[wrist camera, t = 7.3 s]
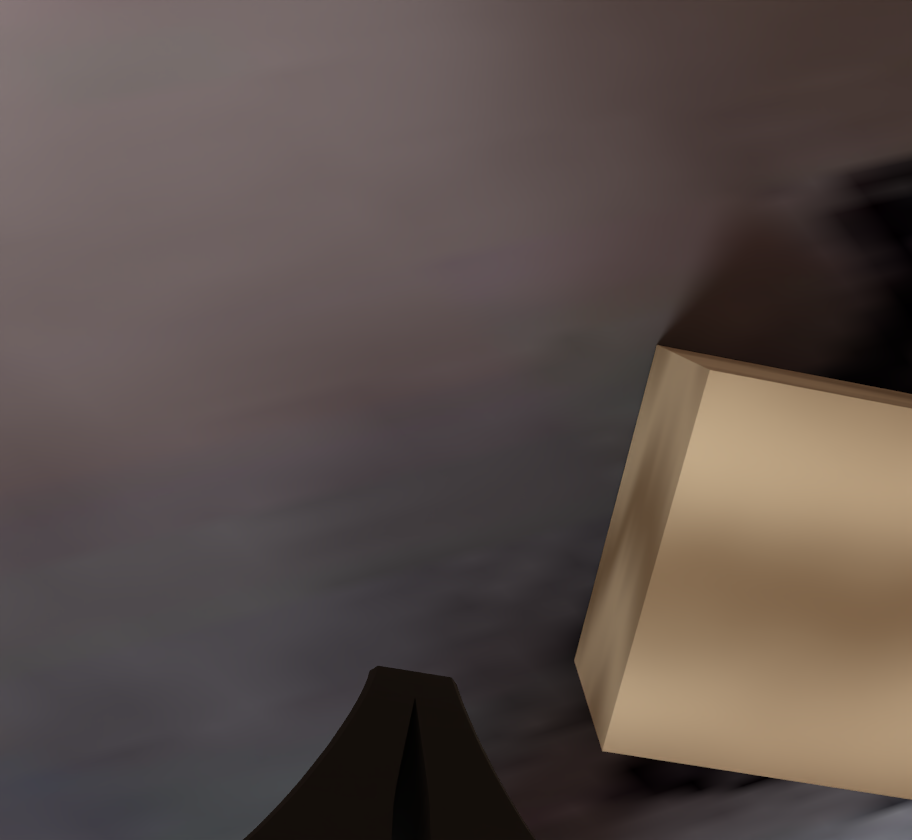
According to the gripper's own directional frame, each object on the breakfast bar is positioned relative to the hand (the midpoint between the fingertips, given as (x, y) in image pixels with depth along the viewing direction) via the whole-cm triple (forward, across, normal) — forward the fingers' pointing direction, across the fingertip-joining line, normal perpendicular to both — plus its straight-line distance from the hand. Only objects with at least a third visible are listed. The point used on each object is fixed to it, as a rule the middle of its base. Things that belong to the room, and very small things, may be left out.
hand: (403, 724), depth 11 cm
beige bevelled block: (+9, -10, -1) cm, 14 cm away
